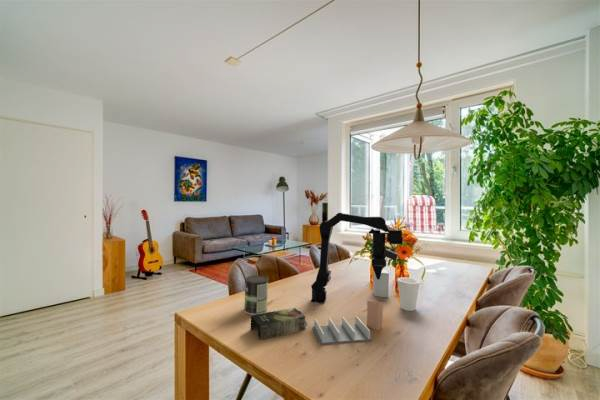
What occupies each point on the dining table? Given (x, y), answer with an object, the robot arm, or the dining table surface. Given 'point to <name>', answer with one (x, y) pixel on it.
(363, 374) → the dining table surface
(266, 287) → the coffee can
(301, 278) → the dining table surface
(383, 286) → the supplement box
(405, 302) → the foam cup
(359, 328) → the rack
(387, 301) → the dining table surface
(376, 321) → the salmon rectangular block
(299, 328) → the juice carton
